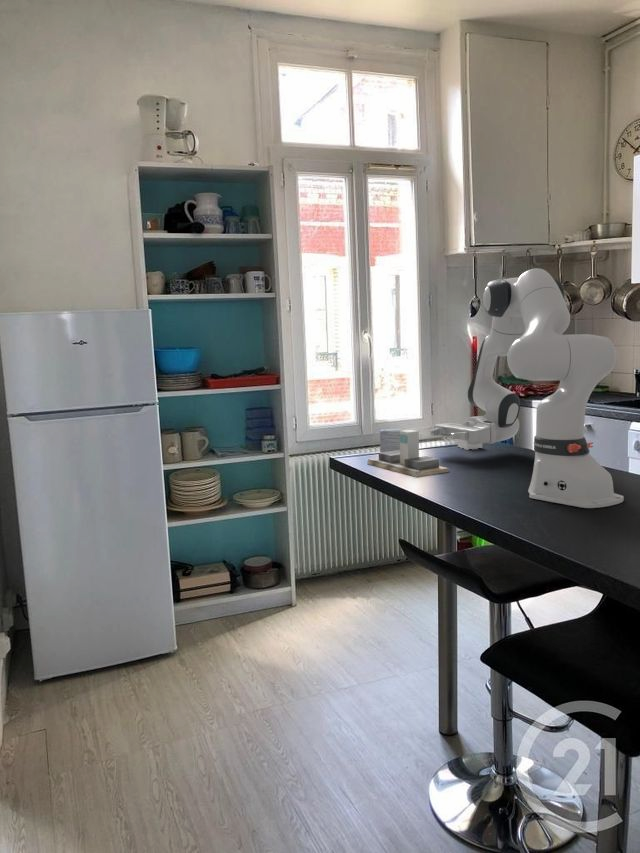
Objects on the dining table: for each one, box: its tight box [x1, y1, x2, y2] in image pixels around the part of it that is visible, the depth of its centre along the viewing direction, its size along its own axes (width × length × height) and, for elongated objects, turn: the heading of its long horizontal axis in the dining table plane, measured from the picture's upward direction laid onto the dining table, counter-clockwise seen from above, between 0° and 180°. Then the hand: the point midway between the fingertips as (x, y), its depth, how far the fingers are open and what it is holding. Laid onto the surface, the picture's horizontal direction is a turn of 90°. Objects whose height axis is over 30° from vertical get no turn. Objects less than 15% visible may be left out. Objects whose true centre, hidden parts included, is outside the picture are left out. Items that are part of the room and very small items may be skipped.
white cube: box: [457, 439, 483, 451], centre depth 239 cm, size 6×6×6 cm
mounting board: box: [367, 450, 450, 478], centre depth 208 cm, size 24×12×4 cm, turn 31°
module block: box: [400, 429, 420, 465], centre depth 208 cm, size 4×4×10 cm
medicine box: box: [379, 428, 404, 453], centre depth 227 cm, size 8×4×9 cm, turn 84°
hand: (441, 434), depth 214 cm, fingers open, 8 cm apart
